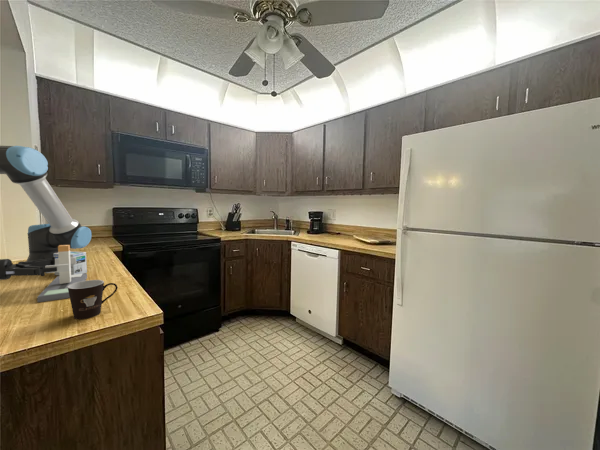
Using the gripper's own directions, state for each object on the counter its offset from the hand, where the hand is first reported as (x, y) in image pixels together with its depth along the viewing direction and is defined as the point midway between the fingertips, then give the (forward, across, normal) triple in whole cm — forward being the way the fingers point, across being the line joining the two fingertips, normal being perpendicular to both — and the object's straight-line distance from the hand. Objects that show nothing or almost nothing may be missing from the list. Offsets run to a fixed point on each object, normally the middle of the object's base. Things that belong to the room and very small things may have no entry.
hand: (73, 263), depth 99 cm
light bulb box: (-5, -25, -10) cm, 27 cm away
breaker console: (-2, 0, -10) cm, 10 cm away
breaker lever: (-3, 0, -8) cm, 8 cm away
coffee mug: (+10, +34, -10) cm, 37 cm away
